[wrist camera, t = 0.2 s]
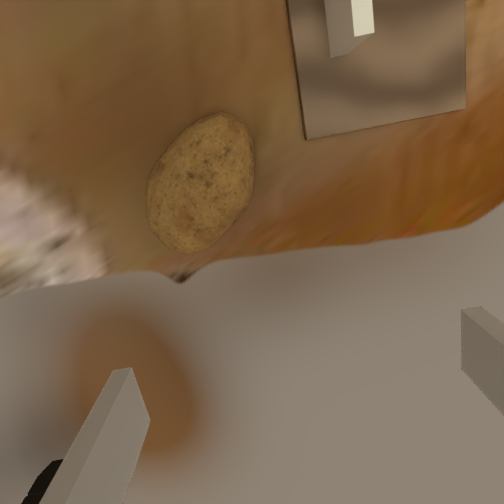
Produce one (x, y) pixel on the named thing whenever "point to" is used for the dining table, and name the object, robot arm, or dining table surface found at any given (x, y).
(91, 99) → the dining table surface
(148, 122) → the dining table surface
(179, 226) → the potato
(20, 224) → the dining table surface
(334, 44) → the tile
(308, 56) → the board
